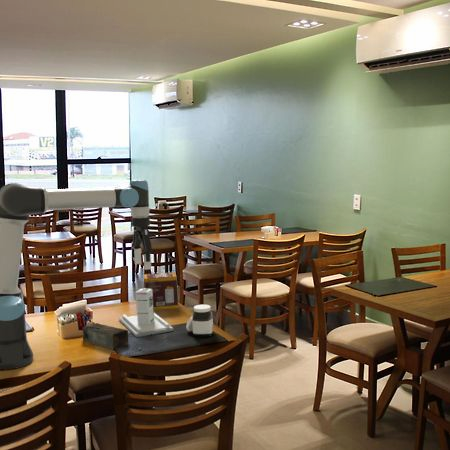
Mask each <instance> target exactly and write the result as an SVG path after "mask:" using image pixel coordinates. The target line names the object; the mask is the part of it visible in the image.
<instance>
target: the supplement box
mask: <svg viewBox="0 0 450 450" xmlns="http://www.w3.org/2000/svg"><path fill="white" fill-rule="evenodd" d="M177 278H178V276H177V275H176V273H175V272H174V271H172V272H159V273H146V274H143V286H144V287H143V289H144V288H149V289H152V292H153V307H154V311H158V310H172V309H179V297H178V293H179V292H178V279H177Z"/></svg>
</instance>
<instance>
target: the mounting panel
mask: <svg viewBox="0 0 450 450" xmlns="http://www.w3.org/2000/svg"><path fill="white" fill-rule="evenodd" d="M118 320H119V322H120V323H121V324H122V325H123V326H124V327H125V328H126V330H128V332H131V333H132V335H134V336H135V338H139V337H146V336H151V334H152V335H155V334H156V335H157V334H163V333H168V332H173V331H174V327H173V326H172V325H170V323H168V322H167V321H166V320H164V319H163V318H162V317H160V316H159V315H158V314H157V313H156V312H154V321H153V322H152V323H151V324H150V325H141V324H138V320H137V314H136V315H131V316H127V314H122V317H119V318H118Z"/></svg>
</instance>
